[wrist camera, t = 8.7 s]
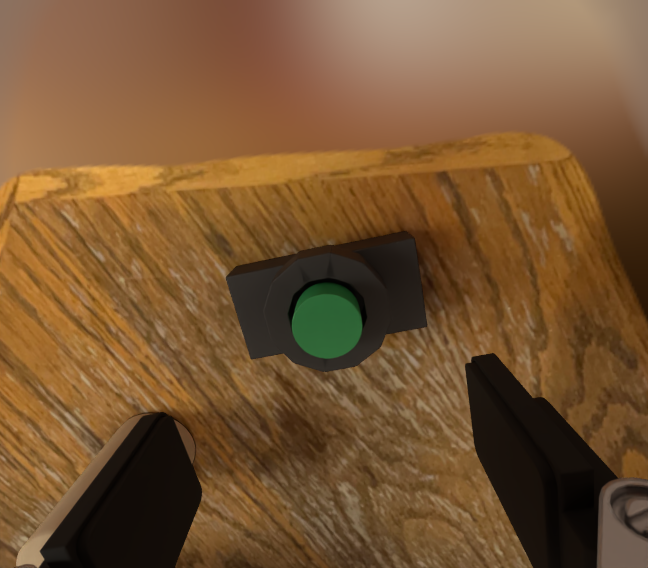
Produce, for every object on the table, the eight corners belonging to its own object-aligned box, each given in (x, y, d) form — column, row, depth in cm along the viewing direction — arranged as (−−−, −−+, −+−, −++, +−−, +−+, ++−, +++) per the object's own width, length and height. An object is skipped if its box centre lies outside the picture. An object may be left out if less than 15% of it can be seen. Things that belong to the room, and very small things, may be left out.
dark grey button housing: (405, 220, 20) (421, 233, 17) (420, 320, 22) (438, 352, 18) (232, 257, 21) (210, 277, 17) (260, 350, 23) (246, 386, 19)
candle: (122, 475, 26) (4, 649, 17) (111, 410, 25) (-27, 563, 15) (199, 478, 26) (123, 656, 17) (193, 413, 25) (106, 570, 15)
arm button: (353, 276, 18) (355, 287, 16) (365, 335, 19) (368, 351, 17) (288, 289, 18) (283, 301, 16) (303, 346, 19) (300, 364, 17)
